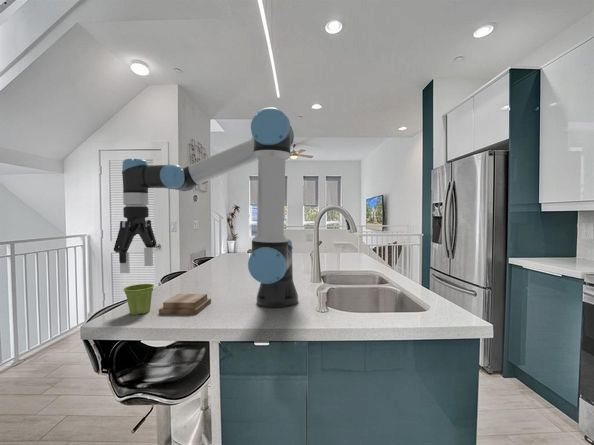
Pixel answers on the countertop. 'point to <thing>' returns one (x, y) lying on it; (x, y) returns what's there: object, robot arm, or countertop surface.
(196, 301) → the walnut stand
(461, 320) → the countertop surface
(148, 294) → the plant pot
